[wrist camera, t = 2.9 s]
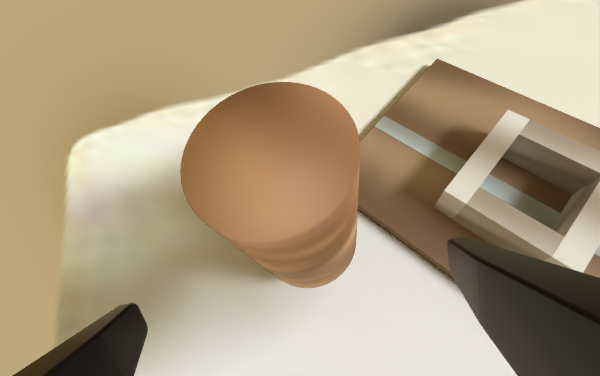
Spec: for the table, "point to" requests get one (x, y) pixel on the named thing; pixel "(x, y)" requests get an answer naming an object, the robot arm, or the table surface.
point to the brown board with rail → (483, 172)
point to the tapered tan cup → (279, 179)
